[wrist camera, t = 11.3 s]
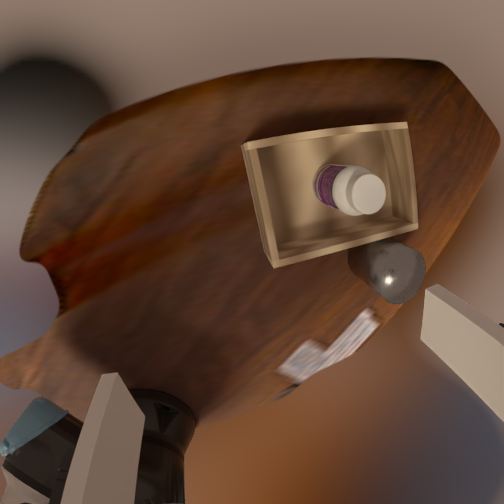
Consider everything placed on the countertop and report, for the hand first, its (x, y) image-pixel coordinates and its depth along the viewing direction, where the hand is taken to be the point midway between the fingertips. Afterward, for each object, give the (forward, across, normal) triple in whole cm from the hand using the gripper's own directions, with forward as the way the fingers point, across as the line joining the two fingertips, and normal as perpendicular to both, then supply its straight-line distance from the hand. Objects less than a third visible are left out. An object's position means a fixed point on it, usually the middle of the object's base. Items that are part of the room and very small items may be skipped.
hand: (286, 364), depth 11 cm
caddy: (+26, +13, +2) cm, 29 cm away
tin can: (+26, +18, -9) cm, 33 cm away
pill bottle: (+26, +13, +2) cm, 29 cm away
